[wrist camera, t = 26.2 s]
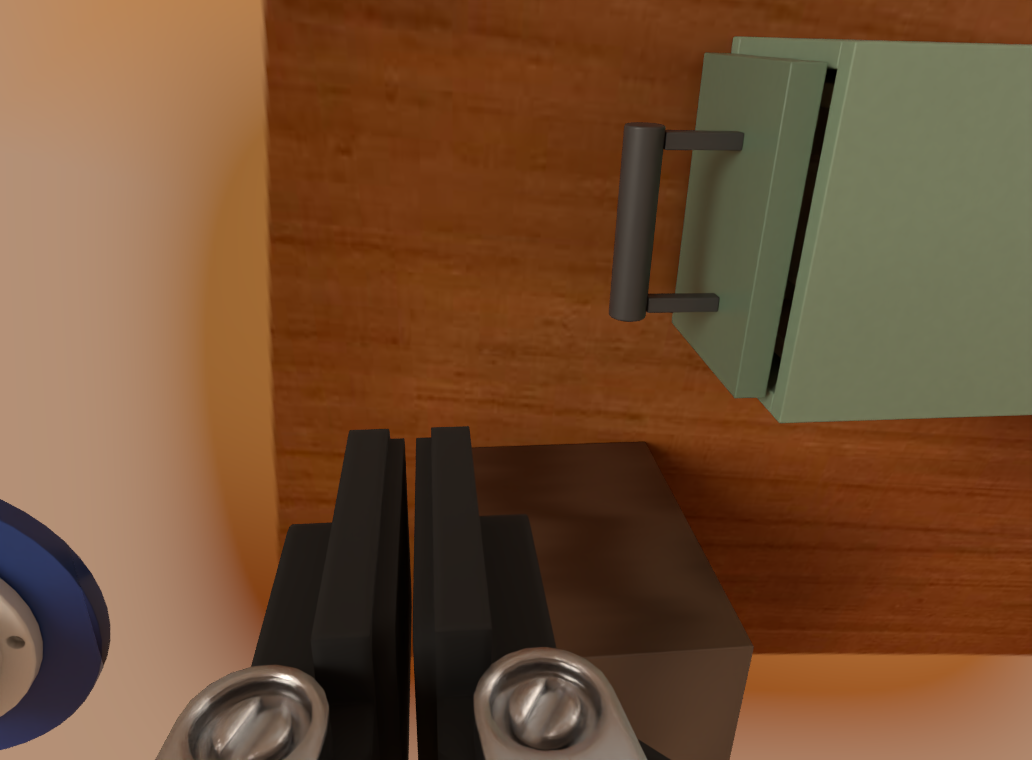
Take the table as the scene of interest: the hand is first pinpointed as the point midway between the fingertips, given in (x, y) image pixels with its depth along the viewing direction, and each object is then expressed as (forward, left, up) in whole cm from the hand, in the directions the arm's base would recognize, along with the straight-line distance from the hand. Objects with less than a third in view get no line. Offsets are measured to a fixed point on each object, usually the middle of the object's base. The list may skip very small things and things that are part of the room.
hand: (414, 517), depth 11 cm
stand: (+6, -17, -23) cm, 30 cm away
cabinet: (+20, 0, -23) cm, 31 cm away
